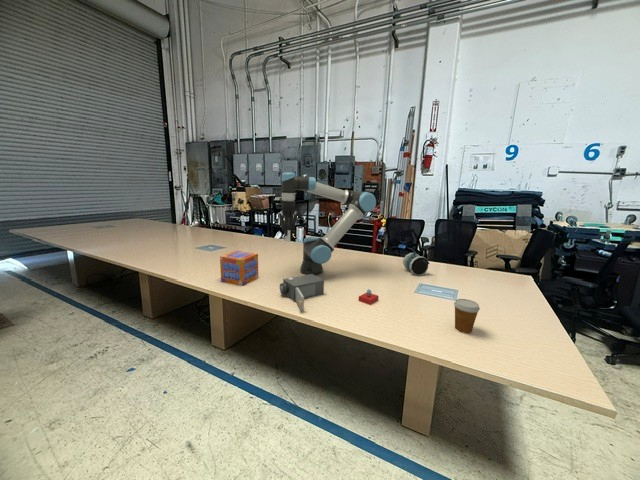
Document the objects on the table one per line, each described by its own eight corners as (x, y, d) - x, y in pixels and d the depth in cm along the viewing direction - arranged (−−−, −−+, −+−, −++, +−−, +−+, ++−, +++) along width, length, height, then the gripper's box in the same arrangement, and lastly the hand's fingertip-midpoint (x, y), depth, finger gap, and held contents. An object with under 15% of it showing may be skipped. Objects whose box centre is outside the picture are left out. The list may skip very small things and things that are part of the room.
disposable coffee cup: (446, 324, 122) (449, 298, 119) (467, 323, 123) (471, 298, 120) (458, 335, 113) (462, 308, 110) (481, 335, 114) (485, 307, 111)
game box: (237, 274, 177) (237, 250, 174) (258, 278, 172) (258, 253, 169) (220, 282, 163) (219, 256, 160) (242, 286, 158) (242, 259, 154)
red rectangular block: (369, 305, 139) (370, 293, 137) (358, 301, 143) (359, 289, 142) (378, 300, 145) (379, 289, 143) (366, 297, 149) (367, 285, 148)
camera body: (311, 287, 159) (312, 272, 158) (323, 294, 150) (324, 278, 148) (278, 294, 148) (278, 278, 146) (288, 302, 138) (288, 285, 136)
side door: (304, 311, 129) (304, 296, 127) (299, 311, 128) (300, 297, 126) (297, 300, 140) (297, 286, 139) (293, 300, 140) (294, 287, 138)
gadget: (429, 276, 186) (431, 254, 183) (411, 276, 183) (413, 254, 180) (418, 269, 200) (420, 248, 197) (401, 270, 197) (403, 249, 194)
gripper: (295, 199, 165) (294, 238, 170) (274, 200, 158) (275, 240, 163) (301, 200, 159) (300, 241, 164) (280, 201, 152) (280, 243, 157)
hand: (288, 241), depth 164 cm, fingers closed
